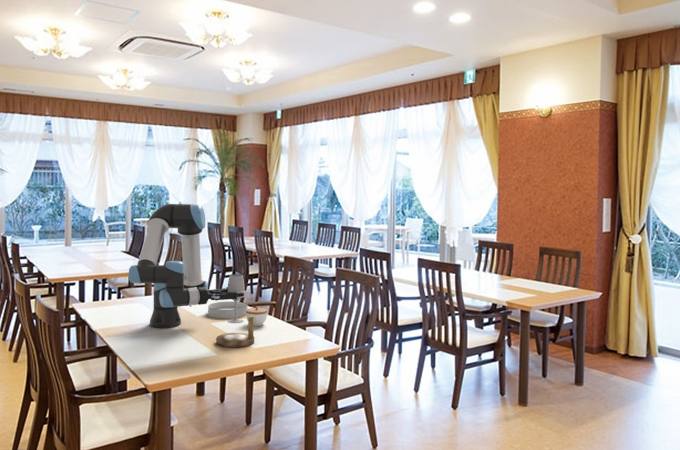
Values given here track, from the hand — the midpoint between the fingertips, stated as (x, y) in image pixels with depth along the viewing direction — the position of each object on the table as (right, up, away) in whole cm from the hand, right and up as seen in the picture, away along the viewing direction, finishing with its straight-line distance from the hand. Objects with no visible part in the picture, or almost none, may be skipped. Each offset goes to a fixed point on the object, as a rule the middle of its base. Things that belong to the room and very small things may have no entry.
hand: (246, 292), depth 243 cm
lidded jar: (0, -21, +33) cm, 39 cm away
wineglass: (-4, -13, -2) cm, 14 cm away
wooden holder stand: (-5, -23, -1) cm, 23 cm away
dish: (-20, -20, +56) cm, 62 cm away
